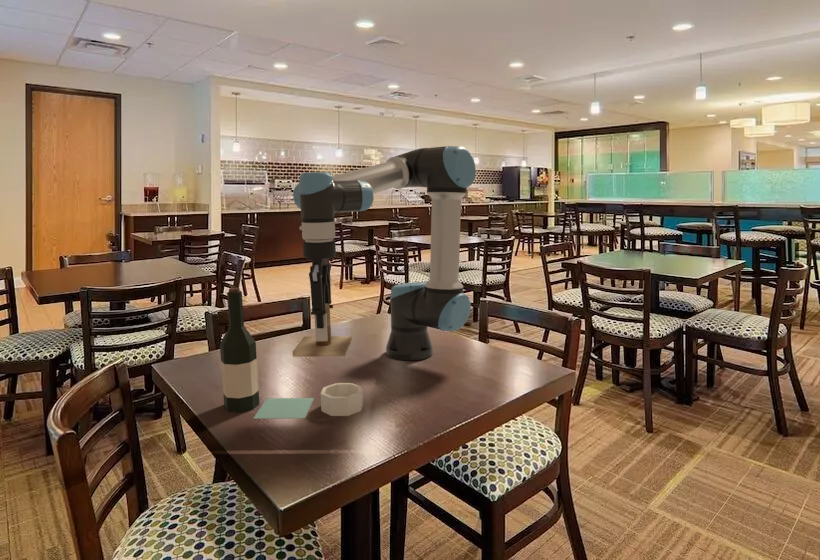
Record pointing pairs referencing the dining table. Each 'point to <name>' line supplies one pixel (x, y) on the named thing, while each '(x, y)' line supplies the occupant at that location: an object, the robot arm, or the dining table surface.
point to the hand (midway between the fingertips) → (323, 337)
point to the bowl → (341, 399)
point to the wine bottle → (238, 360)
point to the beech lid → (323, 344)
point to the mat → (284, 408)
